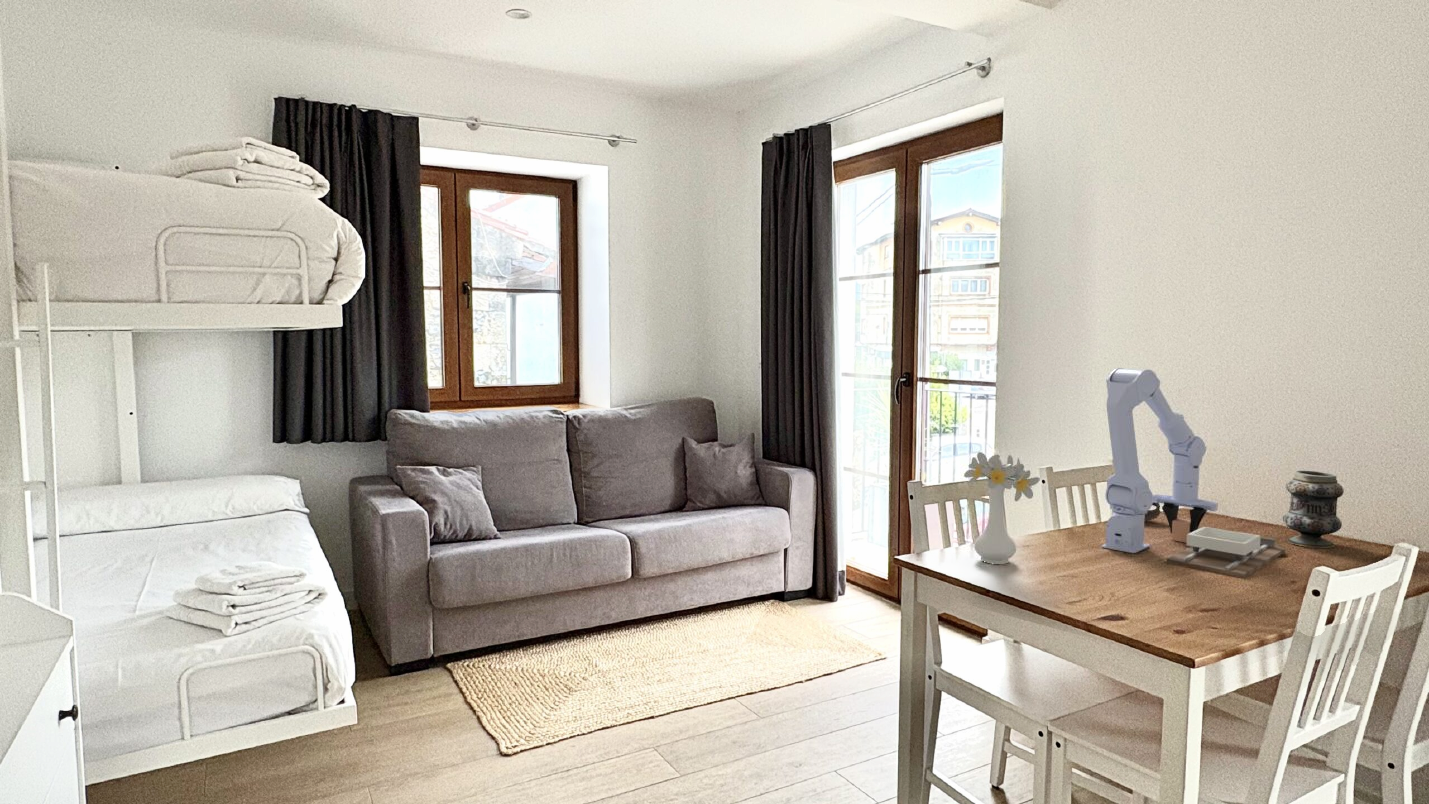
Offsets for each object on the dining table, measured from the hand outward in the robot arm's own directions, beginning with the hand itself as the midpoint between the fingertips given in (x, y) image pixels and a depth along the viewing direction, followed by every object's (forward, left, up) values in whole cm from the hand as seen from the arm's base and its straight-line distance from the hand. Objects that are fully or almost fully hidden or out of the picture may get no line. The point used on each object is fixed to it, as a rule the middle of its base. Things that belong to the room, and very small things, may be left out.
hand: (1183, 534), depth 216 cm
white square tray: (-13, -13, 0) cm, 18 cm away
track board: (-10, -13, -1) cm, 16 cm away
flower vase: (-52, +22, -2) cm, 56 cm away
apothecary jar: (+19, -23, -2) cm, 30 cm away
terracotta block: (0, 0, -1) cm, 1 cm away
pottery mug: (+14, +17, -2) cm, 22 cm away
